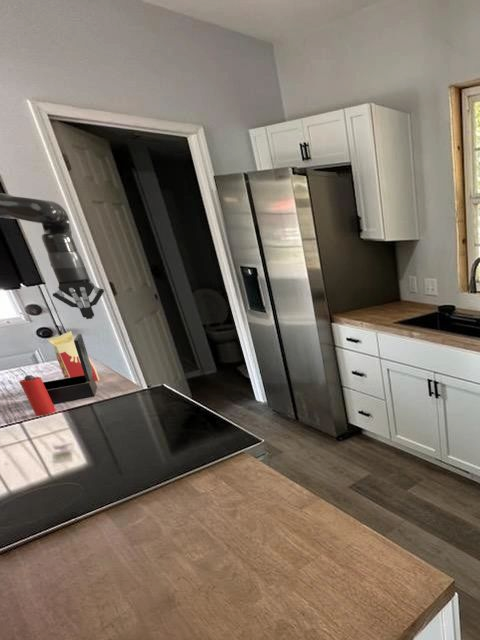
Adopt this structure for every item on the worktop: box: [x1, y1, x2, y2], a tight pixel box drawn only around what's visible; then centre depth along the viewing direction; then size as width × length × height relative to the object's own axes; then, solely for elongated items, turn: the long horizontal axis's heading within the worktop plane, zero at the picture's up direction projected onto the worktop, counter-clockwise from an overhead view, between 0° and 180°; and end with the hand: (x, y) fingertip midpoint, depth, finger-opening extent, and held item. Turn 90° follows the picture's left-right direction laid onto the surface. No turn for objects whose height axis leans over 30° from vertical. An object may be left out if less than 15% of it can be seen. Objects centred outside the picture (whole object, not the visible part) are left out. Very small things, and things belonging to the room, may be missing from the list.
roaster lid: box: [74, 333, 93, 382], centre depth 142 cm, size 14×14×1 cm
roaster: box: [43, 375, 98, 406], centre depth 141 cm, size 14×14×6 cm
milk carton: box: [46, 330, 100, 382], centre depth 154 cm, size 9×9×20 cm
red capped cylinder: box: [19, 374, 57, 417], centre depth 127 cm, size 4×4×13 cm
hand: (89, 318), depth 141 cm, fingers closed
